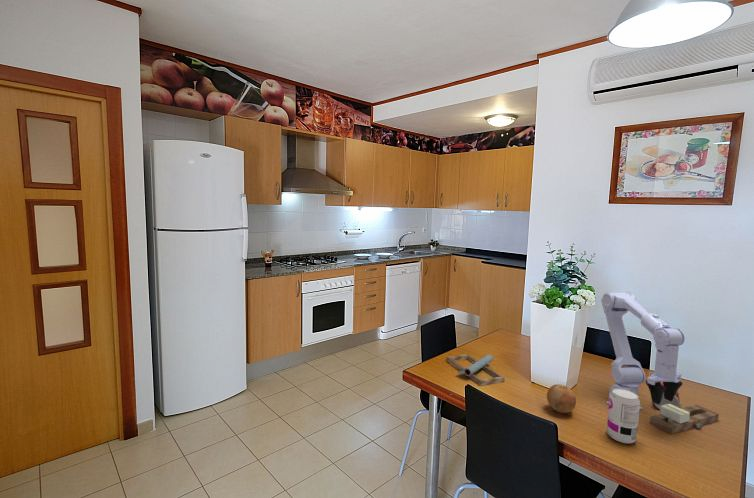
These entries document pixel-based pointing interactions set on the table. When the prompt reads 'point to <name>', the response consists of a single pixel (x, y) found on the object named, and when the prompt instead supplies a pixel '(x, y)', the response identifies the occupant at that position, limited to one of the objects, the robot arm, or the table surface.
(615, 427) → the supplement can
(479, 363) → the aluminum foil
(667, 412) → the rider
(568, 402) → the onion
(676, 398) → the canned food
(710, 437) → the table surface
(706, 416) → the wooden slotted frame
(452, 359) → the foil cradle
